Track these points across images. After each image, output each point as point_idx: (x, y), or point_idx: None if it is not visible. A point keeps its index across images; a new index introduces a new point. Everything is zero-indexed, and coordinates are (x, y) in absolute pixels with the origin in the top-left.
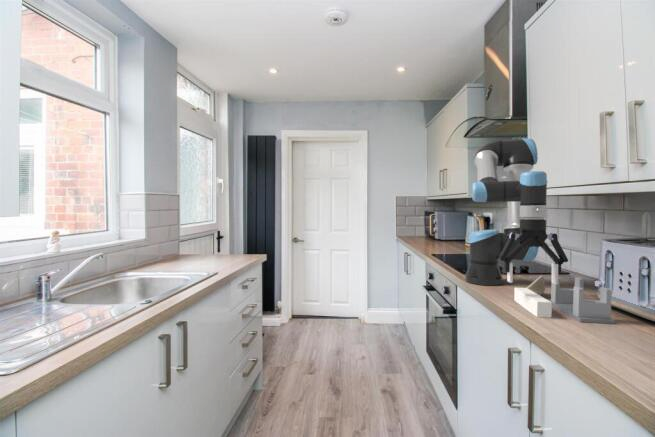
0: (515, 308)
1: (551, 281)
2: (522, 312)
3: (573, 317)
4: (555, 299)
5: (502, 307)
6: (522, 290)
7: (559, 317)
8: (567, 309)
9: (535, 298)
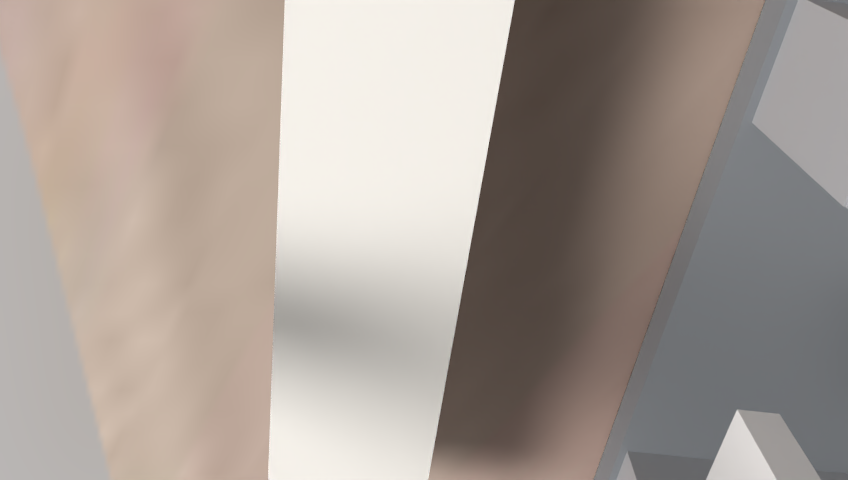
0: (183, 191)
1: (746, 421)
2: (207, 318)
3: (606, 450)
4: (776, 144)
5: (33, 155)
6: (344, 48)
7: (490, 434)
8: (690, 341)
9: (312, 452)
